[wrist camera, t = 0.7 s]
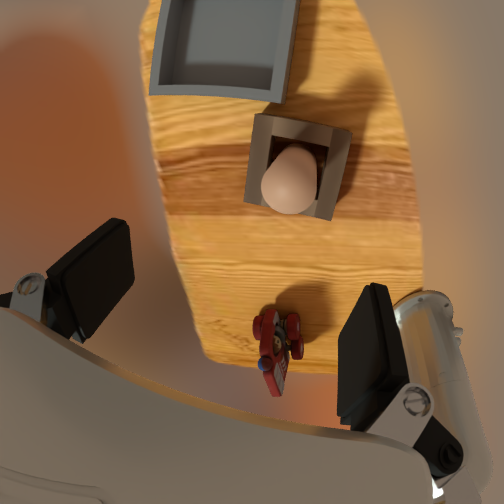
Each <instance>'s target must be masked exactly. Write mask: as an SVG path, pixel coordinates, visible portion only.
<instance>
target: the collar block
mask: <svg viewBox="0 0 504 504" xmlns="http://www.w3.org/2000/svg"><path fill="white" fill-rule="evenodd" d="M275 136H279V137H285V138H290V139H295V140H300V141H305V142H310V143H315V144H319V145H323V146H327V150H326V155H325V160H324V164H323V169H322V174H321V178H320V183H319V187H318V191H317V192H316V196H315V199H314V201H313V203H312V204H311V205H310V206H309V207H308V208H307V209H306V210H304V211H302V212H300V213H298V214H303V215H307V216H311V217H316V218H320V219H324V220H328V221H331V220H332V216H333V212H334V209H335V205H336V201H337V197H338V193H339V189H340V185H341V181H342V177H343V173H344V169H345V165H346V160H347V156H348V151H349V147H350V142H351V138H352V133H351V132H350V131H348V130H344V129H340V128H336V127H332V126H328V125H323V124H319V123H314V122H310V121H305V120H300V119H294V118H289V117H283V116H277V115H271V114H264V113H258V114H255V117H254V124H253V131H252V139H251V147H250V154H249V162H248V170H247V178H246V186H245V194H244V202H246V203H251V204H256V205H261V206H266V207H270V206H269V205H268V204H267V203H266V201H265V199H264V197H263V195H262V191H261V182H262V178H263V176H264V174H265V172H266V171H267V170H268V168H269V167H270V166H271V162H272V156H273V149H274V143H275Z"/></svg>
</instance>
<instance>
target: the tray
mask: <svg viewBox="0 0 504 504" xmlns="http://www.w3.org/2000/svg"><path fill="white" fill-rule="evenodd" d="M299 6H300V0H162V4H161V8H160V13H159V19H158V24H157V30H156V36H155V43H154V50H153V58H152V66H151V75H150V86H149V95H200V96H219V97H232V98H242V99H252V100H260V101H267V102H274V103H281V104H285V101H286V94H287V88H288V81H289V75H290V68H291V61H292V55H293V48H294V41H295V34H296V27H297V20H298V13H299Z"/></svg>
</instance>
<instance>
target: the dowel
mask: <svg viewBox="0 0 504 504" xmlns="http://www.w3.org/2000/svg"><path fill="white" fill-rule="evenodd" d="M261 191H262V195H263V197H264V199H265V201H266V203H267V204H268V205H269V206H270V207H271V208H273V209H274V210H276V211H278V212H280V213H284V214H296V213H300V212H302V211H304V210H306V209H307V208H308V207H309V206H310V205H311V204H312V203H313V201H314V199H315V196H316V192H317V161H316V156H315V154H314V152H313V151H312V150H311V149H310V148H309V147H308V146H306V145H304V144H300V143H294V144H290V145H288V146H286V147H285V148H284V149H283V150H282V151H281V153H280V154H279V155H278V157H277V158H276V159H275V161H274V162H273V163H272V164H271V166H270V167H269V168H268V170H267V171H266V172H265V174H264V176H263V178H262V182H261Z"/></svg>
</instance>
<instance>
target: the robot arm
mask: <svg viewBox="0 0 504 504" xmlns="http://www.w3.org/2000/svg"><path fill="white" fill-rule="evenodd" d="M46 273H47V276H48V278H47V279H46V280H45V278H44V276H43V275H41V274H39V273H30V274H27V275H25V276H23V277H22V278H20V279H19V280H18V281H17V283H16V285H15V287H14V290H13V292H9V293H6V294H1V295H0V504H481V497H480V494H481V493H482V492H483V491H484V490H485V488H486V487H487V485H488V484H489V482H490V480H491V477H492V472H493V461H492V456H491V452H490V449H489V446H488V443H487V440H486V437H485V434H484V431H483V428H482V424H481V421H480V418H479V414H478V410H477V407H476V403H475V399H474V396H473V392H472V389H471V384H470V381H469V377H468V374H467V371H466V367H465V364H464V361H463V358H462V355H461V352H460V349H459V346H460V344H461V339H460V338H459V337H455V335H456V336H461V335H462V334H463V329H462V328H458V327H454V325H453V322H452V318H453V306H452V304H451V302H450V300H449V298H448V297H447V296H446V295H444V294H443V293H441V292H438V291H431V290H427V291H420V292H417V293H414V294H412V295H409V296H407V297H405V298H404V299H402V300H401V301H399V302H398V303H397V304H396V305H395V306H394V307H393V306H392V302H391V299H390V295H389V291H388V288H387V286H386V285H382V284H378V283H374V282H373V283H371V284H370V286H369V285H366V286H365V287H364V289H363V291H362V293H361V295H360V297H359V299H358V301H357V303H356V305H355V307H354V309H353V310H352V312H351V314H350V316H349V318H348V320H347V322H346V323H345V325H344V327H343V329H342V330H341V332H340V335H339V338H338V395H337V397H338V398H337V416H340V417H341V420H340V424H342V425H351V428H350V430H344V429H336V428H327V427H321V426H315V425H308V424H302V423H296V422H292V421H286V420H281V419H276V418H271V417H266V416H262V415H258V414H253V413H249V412H245V411H241V410H237V409H234V408H230V407H226V406H223V405H219V404H216V403H213V402H209V401H206V400H203V399H200V398H197V397H194V396H191V395H188V394H185V393H183V392H180V391H177V390H174V389H172V388H169V387H166V386H164V385H161V384H159V383H156V382H153V381H151V380H149V379H146V378H144V377H142V376H139V375H137V374H135V373H133V372H130V371H128V370H126V369H124V368H121V367H119V366H117V365H115V364H113V363H111V362H109V361H107V360H105V359H103V358H101V357H99V356H97V355H95V354H93V353H91V352H89V351H88V350H86V349H84V348H82V347H80V346H78V345H77V344H75V343H73V342H71V341H70V340H69V339H70V337H71V336H72V337H73V339H75V340H76V341H78V342H80V343H82V344H83V343H84V342H85V340H86V339H88V338H90V337H91V336H92V335H93V334H94V332H95V331H96V330H97V328H98V327H99V326H100V325H101V323H102V322H103V321H104V319H105V318H106V317H107V316H108V314H109V313H110V312H111V311H112V309H113V308H114V307H115V306H116V304H117V303H118V302H119V301H120V299H121V298H122V297H123V296H124V295H125V293H126V292H127V291H128V290H129V289H130V287H131V286H132V285H133V283H134V280H135V276H134V268H133V261H132V251H131V241H130V229H129V226H128V225H127V223H126V221H124V220H121V219H117V218H111V219H109V220H108V221H107V222H106V223H104V224H103V225H102V226H100V227H99V228H97V229H96V230H95V231H94V232H92V233H91V234H90V235H88V236H87V237H86V238H85V239H83V240H82V241H81V242H80V243H78V244H77V245H76V246H75V247H73V248H72V249H71V250H70V251H69V252H67V253H66V254H65V255H64V256H63V257H62V258H60V259H59V260H58V261H57V262H56V263H55V264H53V265H52V266H51V267H50V268H49V269H48V270H47V271H46Z"/></svg>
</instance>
